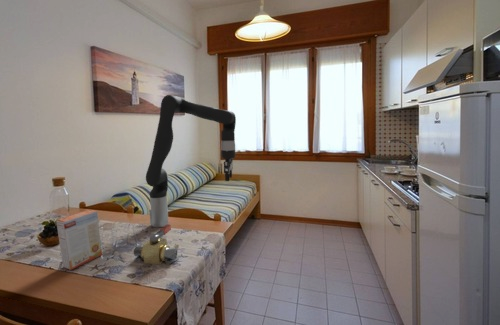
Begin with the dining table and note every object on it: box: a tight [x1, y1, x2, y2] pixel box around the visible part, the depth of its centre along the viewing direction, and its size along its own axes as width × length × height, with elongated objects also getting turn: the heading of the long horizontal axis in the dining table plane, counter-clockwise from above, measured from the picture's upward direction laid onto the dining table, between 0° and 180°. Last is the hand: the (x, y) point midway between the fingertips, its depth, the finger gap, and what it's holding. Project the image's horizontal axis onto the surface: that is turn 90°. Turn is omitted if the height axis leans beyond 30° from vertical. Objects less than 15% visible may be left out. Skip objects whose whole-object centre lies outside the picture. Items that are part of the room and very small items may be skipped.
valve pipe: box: [133, 237, 178, 265], centre depth 114 cm, size 18×7×8 cm, turn 80°
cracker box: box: [56, 209, 103, 271], centre depth 113 cm, size 14×6×21 cm, turn 153°
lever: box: [149, 224, 172, 243], centre depth 118 cm, size 14×4×2 cm, turn 170°
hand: (228, 179), depth 142 cm, fingers open, 8 cm apart
